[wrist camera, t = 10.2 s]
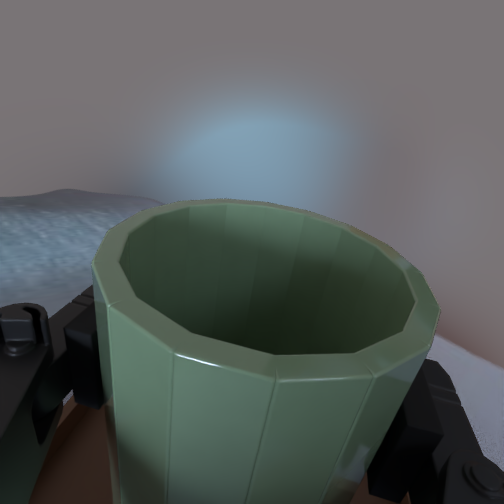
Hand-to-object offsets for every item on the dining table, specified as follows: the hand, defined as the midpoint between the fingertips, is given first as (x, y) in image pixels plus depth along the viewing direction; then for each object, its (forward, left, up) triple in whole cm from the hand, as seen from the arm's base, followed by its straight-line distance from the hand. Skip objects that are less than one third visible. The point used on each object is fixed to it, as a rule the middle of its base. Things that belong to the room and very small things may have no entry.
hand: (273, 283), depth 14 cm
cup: (0, +5, -6) cm, 8 cm away
